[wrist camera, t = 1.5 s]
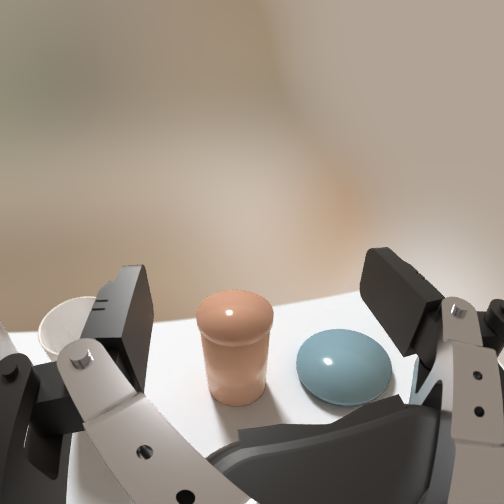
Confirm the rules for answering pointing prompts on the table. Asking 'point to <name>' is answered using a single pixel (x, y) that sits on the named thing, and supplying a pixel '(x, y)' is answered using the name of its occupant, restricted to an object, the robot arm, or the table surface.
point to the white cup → (64, 325)
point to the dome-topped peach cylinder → (235, 344)
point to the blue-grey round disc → (343, 367)
